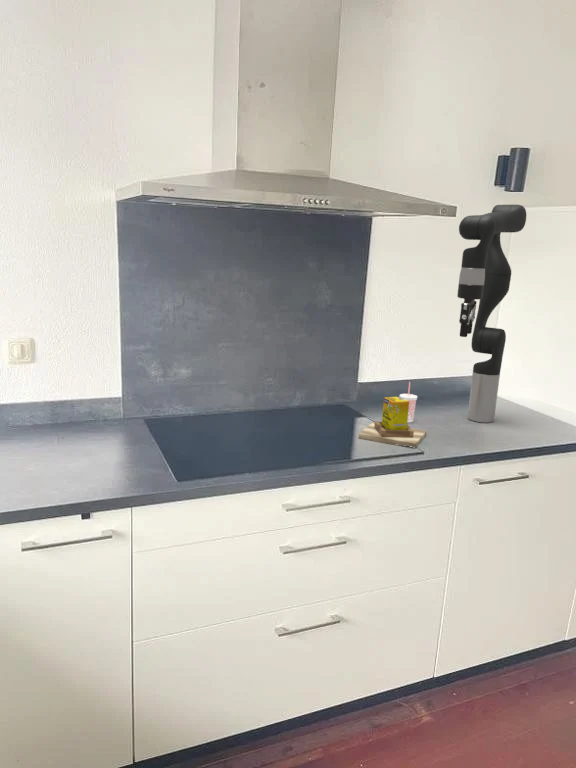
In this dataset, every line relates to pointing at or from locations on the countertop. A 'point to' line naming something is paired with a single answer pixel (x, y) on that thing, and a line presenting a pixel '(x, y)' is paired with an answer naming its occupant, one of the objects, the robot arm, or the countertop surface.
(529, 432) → the countertop surface
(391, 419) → the supplement box
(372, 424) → the socket board
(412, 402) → the beverage cup
